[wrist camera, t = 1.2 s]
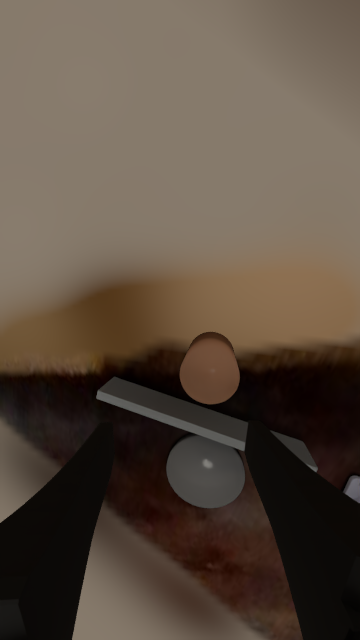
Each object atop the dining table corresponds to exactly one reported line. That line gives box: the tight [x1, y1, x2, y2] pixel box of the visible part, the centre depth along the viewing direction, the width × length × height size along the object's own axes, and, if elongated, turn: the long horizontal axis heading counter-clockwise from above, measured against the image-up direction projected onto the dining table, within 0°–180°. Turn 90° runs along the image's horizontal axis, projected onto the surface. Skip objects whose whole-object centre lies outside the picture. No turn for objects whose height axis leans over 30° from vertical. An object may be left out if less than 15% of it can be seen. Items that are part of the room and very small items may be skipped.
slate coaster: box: [166, 433, 245, 508], centre depth 25 cm, size 8×8×1 cm
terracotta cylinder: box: [180, 332, 240, 404], centre depth 20 cm, size 4×4×6 cm
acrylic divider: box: [96, 377, 318, 472], centre depth 23 cm, size 20×1×4 cm, turn 74°
